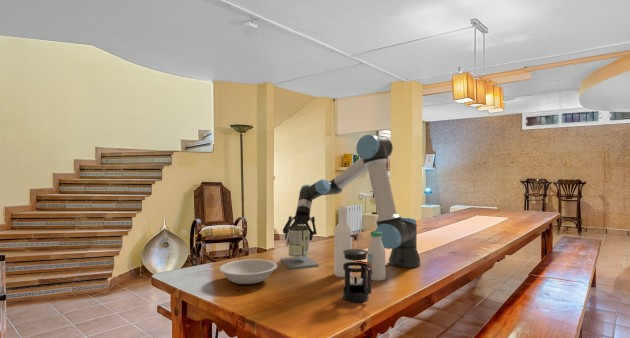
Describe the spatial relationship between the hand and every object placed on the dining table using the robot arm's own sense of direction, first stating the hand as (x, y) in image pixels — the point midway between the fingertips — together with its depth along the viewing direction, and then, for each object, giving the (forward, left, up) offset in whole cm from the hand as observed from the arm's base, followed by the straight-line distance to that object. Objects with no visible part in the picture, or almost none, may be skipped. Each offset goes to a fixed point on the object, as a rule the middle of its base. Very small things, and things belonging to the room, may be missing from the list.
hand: (297, 245), depth 175 cm
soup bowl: (-18, +27, -10) cm, 34 cm away
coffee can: (+3, -2, -6) cm, 6 cm away
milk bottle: (-34, -25, -10) cm, 43 cm away
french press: (-52, -6, -10) cm, 53 cm away
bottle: (-24, -14, -10) cm, 29 cm away
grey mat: (+2, -2, -10) cm, 10 cm away
